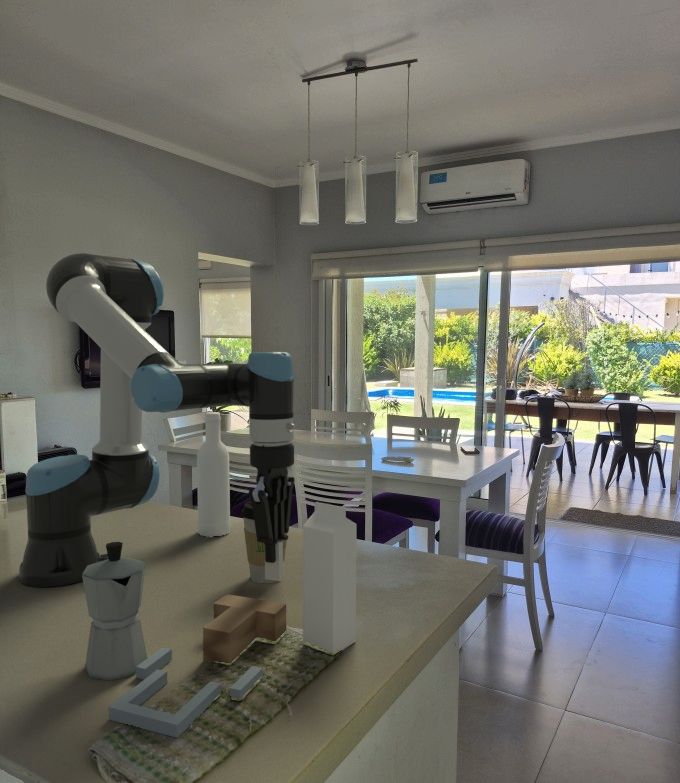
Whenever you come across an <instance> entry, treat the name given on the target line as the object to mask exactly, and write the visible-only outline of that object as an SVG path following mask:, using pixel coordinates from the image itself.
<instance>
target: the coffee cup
mask: <svg viewBox="0 0 680 783" xmlns="http://www.w3.org/2000/svg"><path fill="white" fill-rule="evenodd" d="M240 512H241V513H240V516H241V517H242V519H243V525H244V527H243V531H244V540H245V548H246V556H247V562H248V566H249V568H248V569H249V574H250V576H249V577H250V580H251V581H252V582H254V583H256V582H257V584H263V583H264V585H265V584H273V583H277V582H278V581H275V580H268V579H265V544H264V543H261V542H258V541H257V536H256V529H255V522H254V515H253V509H252V503H251V500H249V501H246V502H244V505H243V509H242V510H241V511H240ZM290 515H291V511H290ZM285 535H287V536H288V533H285ZM282 541H283V562H284V561H285V558H286V557H285V556H286V550H287V549H286V548H287V541H288V540H282Z"/></svg>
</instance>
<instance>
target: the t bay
mask: <svg viewBox="0 0 680 783" xmlns="http://www.w3.org/2000/svg"><path fill="white" fill-rule="evenodd" d="M172 660H173V651H172V648H168V647H161V648H159V649H158V650H157V651H155V652H154V653H153V654H151V655H150V656H149V657H147V659H146V660H144V661H143V662H142V663H140V664H139V665H138V666H136V674H135V678H137V679H140V680H142V681H140V682H139V683H138V684H136V686H134V687H133V688H131V689H130V690H129V691H128V692H126V693H125V694H124V695H122V696H121V697H119V698H118V699H117V700H116V701H114V702H113V703H112V704H111V705H109V706H108V720H110V721H112V722H117V723H121V724H123V725H124V724H125V725H127V724H128V726H131V725H133V726H132V727H135V726H136V727H135V728H138V727H140V729H143V730H146V731H149V732H152V733H157V734H162V735H164V736H165V735H166V736H169V737H173V738H175V739H176V738H177V739H178V738H179V737H180V736H182V735H183V733H184V732H185V731H186V730H188V728H189V727H190V726H191V725H193V723H194V722H195V721H196V720H197V719H199V717H200V716H201V715H202V714H203V713H204V712H203V711H204V710H205V709H206V708H207V707H208V706H209V705H210V704H211V703H212V702H213V700H214V699H215V698H216V697H217V696H218V695H219V694H220V693H221V694H222V683H220V682H217V681H216V682H215V681H209V682H208V683H207V684H206V685H205V686H204V687H203V688H201V690H199V692H197V693H196V694H195V695H193V697H192V698H191V699H190V700H189V701H187V702H186V703H185V704H183V705H182V707H180V709H179V710H177V711H176V713H170V712H166V711H162V710H158V709H154V708H149V707H147V706H141V705H143V704H144V703H145V702H146V701H147V700H148V699H150V698H151V697H152V696H153V695H154V694H156V693H157V692H158V691H159V690H160V689H162V688H163V687H164V686H165V685H167V684H168V671H166V670H162V668H163V667H164V666H165V665H167V664H169V662H171V661H172ZM261 676H262V677H263V667H259V666H254V665H252V666H251V667H249V668H248V669H247V670H246V671H245V672H244V674H242V675H241V676H240V677H239V679H237V680H236V681H235V682H234V683H233V684H232V685H231V686H230V687H229V697H230V696H231V697H235V698H238V699H239V698H240V699H241V698H242V697H243V695H244V694H245V693H246V692H247V691H248V690H249V689H250V688H251V687H252V686H253V685H254V683H255V682H256V681H257V680H258V679H259V678H260V677H261ZM201 713H202V714H201ZM200 714H201V715H200ZM198 716H199V717H198ZM196 718H197V719H196ZM195 719H196V720H195ZM194 720H195V721H194ZM193 721H194V722H193ZM189 725H190V726H189Z"/></svg>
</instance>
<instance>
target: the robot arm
mask: <svg viewBox="0 0 680 783" xmlns="http://www.w3.org/2000/svg"><path fill="white" fill-rule="evenodd" d="M163 285H164V284H163V282H162V279H161V277H160V275H159V273H158V272H157V271H156V268H154V266H153V265H152V264H150V263H148V262H146V261H142V260H138V259H134V258H124V257H116V256H109V255H108V256H106V255H100V254H99V255H98V254H92V253H84V252H80V253H73V254H70V255H67V256H65V257H62V258H61V259H59V260H58V261H57V262H56V263H55V264H54V265H53V266H52V267H51V269H50V271H49V273H48V274H47V277H46V283H45V286H46V289H45V290H46V295H47V298H48V299H49V303H50V304H51V305H52V307H53V308H54V310H55V311H56V312H57V313H58V314H60V316H61V317H62V318H64V319H65V320H67V321H69V322H73V323H74V322H75V323H76V325H78V326H79V327H80V329H81V330H83V331H84V333H85V334H87V335H88V337H89V338H91V339H92V341H94V342H95V343H96V344H97V346H98V347H99V348H100V383H99V384H100V389H99V390H100V397H99V398H100V401H99V403H100V404H99V408H100V410H99V411H100V412H99V441H98V442H97V443H96V444H95V445H94V446H93V447H92V448H91V454H92V455H91V459H89V458H90V457H88V456H87V455H84V454H68V455H60V456H55V457H50V458H47V459H44V460H41V461H38V462H37V463H34V464H33V465H32V466H30V467H29V469H27V470H28V471H27V473H26V480H25V489H24V490H25V491H24V492H25V494H26V495H25V496H26V518H27V519H26V520H27V542H26V545H25V546H26V547H25V549H24V554H23V558H22V562H21V563H20V565H19V569H18V572H19V574H18V575H19V576H18V577H19V582H21V584H24V585H26V586H31V587H39V588H41V587H42V588H45V587H46V588H49V587H60V586H66V585H71V584H75V583H79V582H83V578H82V573H83V572H84V570H85V569H86V567H87V566H88V565H91V564H94V563H96V561H97V558H98V556H100V555H101V554H100V553H99V552H98V549H97V546H96V542H95V539H94V538H93V535H92V526H91V525H92V522H91V519H92V518H91V517H94V516H98V515H102V514H103V515H104V514H107V513H112V512H116V511H121V510H125V509H127V510H129V509H133V508H136V507H137V506H140V505H141V506H142V505H144V504H146V503H148V502H149V501H150V500H151V499H152V498H153V497H154V496H155V494H156V493H157V490H158V489H159V488H158V487H159V484H160V475H161V474H160V467H159V465H158V460H157V459H156V457H155V456H154V455H153V454H151V453H150V451H149V446H148V445H147V444H146V443H145V442H144V441H143V439H142V438H143V435H142V434H143V427H142V426H143V411H144V412H146V413H171V412H176V411H177V412H178V411H186V410H194V409H208V408H217V407H226V406H227V407H228V406H229V407H232V406H234V407H236V406H237V407H248V410H249V411H248V412H249V413H248V417H249V421H248V424H249V426H248V428H249V441H250V442H251V443H252V444H250V446H249V464H250V466H252V467H253V468H255V469H256V471H257V473H256V480H255V481H256V486H255V488H254V489H251V488H250V489H249V490H248V494H247V495H248V498H249V501H251V503H252V509H253V515H254V522H255V529H256V536H257V541H258V542H261V543H264V544H265V579H268V580H275V581H277V582H280V581H281V580H282V579H284V561H283V541H282V540H287V541H288V539H289V535H288V533H289V530H290V520H291V514H290V512H291V509H292V500H293V490H294V489H293V488H294V484H295V477H294V476H289V471H288V468H289V467H291V466H294V464H295V445H294V444H293V443H292V441H293V440H294V437H295V433H294V430H295V429H296V424H295V422H294V421H295V420H294V416H295V415H294V380H295V375H294V366H293V357H292V355H291V354H290V353H289V352H287V351H260V352H259V351H256V352H250V353H249V354H248V357H247V363H233V362H231V363H228V362H216V363H202V364H201V363H195V364H194V363H193V364H186V363H185V364H184V363H181V362H179V361H178V360H177V359H176V358H175V357H174V356H172V355H171V353H169V352H168V351H167V350H166V349H165V348H164V347H163V346H162V345H161V344H160V343H159V342H158V341H157V340H156V339H154V338H153V336H151V335H150V334H149V333H148V332H146V329H147V328H149V327H150V326H151V325H152V317H153V316H155V315H156V314H158V313H159V312H160V310H161V307H162V306H163V303H164V294H165V293H164V286H163ZM285 533H287V535H285Z"/></svg>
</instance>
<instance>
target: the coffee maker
mask: <svg viewBox="0 0 680 783" xmlns="http://www.w3.org/2000/svg"><path fill="white" fill-rule="evenodd" d="M123 545H124V544H123V542H121V541H112V542H109V543H106V544H105V549H106V553H105V554H104V553H103V554H99V555H100V556H98V558H97V561H96V563H94V564H91V565H88V566H87V567H86V569H85V570H84V572H83V573H82V578H83V581H82V584H83V589H84V594H85V599H86V607H87V611H88V616H89V618H92V622H91V623H90V629H89V634H88V635H89V637H88V643H87V644H88V645H87V651H86V657H85V658H86V659H85V664H84V669H85V671H86V673H87V675H88V678H89V679H94V680H102V681H108V682H109V681H110V682H113V681H116V680H118V679H123V678H126V677H129V676H133V675H136V666H138V665H139V664H140V663H142V662H143V661H144V660H146V659H147V658H148V654H147V649H146V644H145V639H144V633H143V627H142V622H141V618H140V616H139V615H138V614H139V609H140V607H141V605H142V598H143V588H144V587H143V586H144V580H145V571H146V570H145V569H146V564H147V563H146V561H143V560H140V559H136V558H133V557H122V556H121V555H122V550H123Z"/></svg>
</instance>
